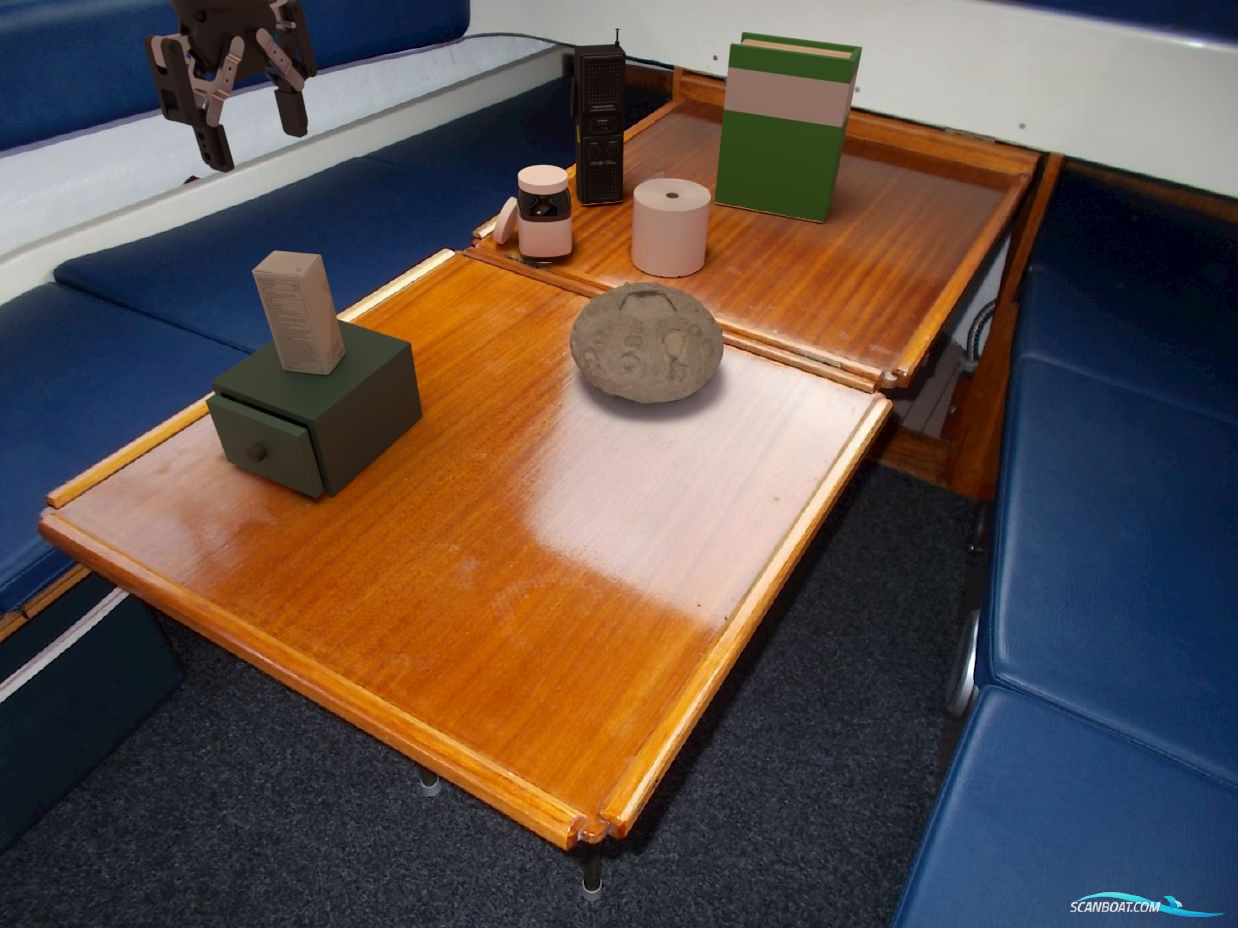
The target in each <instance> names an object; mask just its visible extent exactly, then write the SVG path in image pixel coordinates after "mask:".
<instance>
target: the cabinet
mask: <svg viewBox="0 0 1238 928" xmlns="http://www.w3.org/2000/svg"><path fill="white" fill-rule="evenodd" d="M337 320H338V324H339V328H340V332H341V336H342V340H343V344H344V347H345V352H346V353H345V354H344V356H343V357H342V358H341V360H340V361H339V363H338V364H337V365H336V367H335V368H334V369H333V370H332V372H331V373H330V374H329V375H323V374H311V373H303V372H293V371H286V370H283V368H282V365H281V362H280V359H279V355H278V352H277V349H276V345H275V342H274V339H272V340H270V341H269V342H268V343H266V344H265V345H263V346H262V347H260V348H259V349H257V350H256V351H254V352H253V353H251V354H250V355H248V356H247V357H245V358H244V359H242V360H241V361H239V362H238V363H237V364H234V366H232V367H231V368H229V369H228V370H226V371H225V372H223V373H222V374H220V375H218V377H216V378H215V379H213V380H212V381H210V384H211V386H212V389H213V392H214V394H216V395H218V396H221V397H223V398H226V399H229V400H231V401H234V402H236V400H235V397H236V398H238V399H241V400H244V401H246V402H249V403H251V404H254V405H257V406H259V407H262V408H265V409H267V410H270V411H273V412H275V413H278V414H280V415H283V416H286V417H288V418H291V419H294V420H296V421H299V422H301V423H304V424H307V425H308V427H309V430H310V434H311V437H312V441H313V445H314V448H315V452H316V456H317V459H318V463H319V466H320V470H321V474H322V475H320V478H321V481H322V485H323V489H324V492H323V493H324V494H326V495H329V496H331V497H333V498H334V497H336V496H337V495H339V493H340V492H341V491H342V490H343V489H345V488H346V487H348V485H349V484H351V482H353V480H355V479H356V478H357V477H358V476H359V475H360V474H361V473H362V472H363V471H364V470H366V469H367V468H368V467H369V466H370V465H371V464H372V463H373V462H374V461H375V460H376V459H378V458H379V457H380V456H381V455H382V454H383V453H384V452H386V450H388V449H389V448H390V447H391V446H392V445H393V444H394V443H395V442H396V441H398V439H400V438H401V437H402V436H403V435H404V434H405V433H406V432H408V430H410V429H411V427H413V426H414V425H415V424H416V423H417V422H418V421H420V420H421V418H423V416H424V415H423V409H422V404H421V397H420V390H419V385H418V384H419V383H418V377H417V372H416V367H415V366H416V365H415V359H414V353H413V348H412V347H413V346H412V343H411V341H408V340H404V339H401V338H399V337H395V336H392V335H388V334H386V333H383V332H380V331H376V330H374V329H371V328H368V327H364V326H360V325H358V324H354V323H352V322H348V321H346V320H342V319H339V318H337ZM323 493H322V494H323Z"/></svg>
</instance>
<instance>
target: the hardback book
mask: <svg viewBox="0 0 1238 928" xmlns="http://www.w3.org/2000/svg"><path fill="white" fill-rule="evenodd" d="M862 51H863V46H858V45H850V44H842V43H834V42H828V41H827V42H826V41H818V40H810V39H803V38H796V37H795V38H794V37H787V36H780V35H772V34H763V33H756V32H750V31H749V32H747V31H742V32H741V39H740V43H733V42H731V44H730V46H729V55H728V62H727V64H728V65H727V74H726V82H725V83H726V84H725V95H724V103H723V113H722V114H723V115H722V123H721V132H720V142H719V143H720V144H719V152H718V162H717V173H716V180H715V181H716V182H715V191H714V192H715V193H714V202H718V203H723V204H727V205H732V206H741V207H745V208H750V209H754V210H758V211H768V212H772V213H777V214H782V215H786V216H791V217H800V218H805V219H810V220H817V221H821V222H823V221H824V219H825V220H826V218H827V216H828V214H829V212H830V210H829V208H830V209H831V207H832V205H831V204H833V200H834V194H835V189H836V184H837V179H838V174H839V169H840V163H841V158H842V153H843V148H844V143H845V139H846V134H847V128H848V124H849V118H850V112H851V108H852V103H853V97H854V92H855V87H856V82H857V77H858V72H859V68H860V62H861V56H862ZM714 202H713V203H714ZM830 206H831V207H830ZM828 211H829V212H828ZM827 213H828V214H827ZM826 215H827V216H826ZM825 217H826V218H825ZM824 222H825V221H824Z"/></svg>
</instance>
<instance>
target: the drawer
mask: <svg viewBox="0 0 1238 928" xmlns="http://www.w3.org/2000/svg"><path fill="white" fill-rule="evenodd" d="M235 400H236V402H234V401H231V400H229V399H226V398H223V397H221V396H218V395H216V394H215V393H214V394H213V395H211V396H209V397H208V398H207V399H205V404H206V407H207V409H208V412H209V414H210V417H211V420H212V423H213V426H214V428H215V431H216V434H217V436H218V439H219V442H220V445H221V447H222V450H223V453H224V455H225V459H226V461H227V463H229V464H232V465H235V466H237V467H239V468H242V469H244V470H246V471H249V472H251V473H254V474H256V475H259V476H260V477H264V478H266V479H268V480H271V481H273V482H275V483H278V484H280V485H283V486H285V487H287V488H290V489H292V490H295V491H297V492H299V493H302V494H305V495H307V496H309V497H312V498H314V499H317V498H318V497H319V496H321V494H323V492H324V489H323V485H322V481H321V478H320V475H322V474H321V470H320V466H319V463H318V459H317V456H316V452H315V448H314V445H313V441H312V437H311V434H310V430H309V427H308V425H307V424H304V423H301V422H299V421H296V420H294V419H291V418H288V417H286V416H283V415H280V414H278V413H275V412H273V411H270V410H267V409H265V408H262V407H259V406H257V405H254V404H251V403H249V402H246V401H244V400H241V399H238V398H236V397H235Z"/></svg>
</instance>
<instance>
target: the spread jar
mask: <svg viewBox="0 0 1238 928" xmlns="http://www.w3.org/2000/svg"><path fill="white" fill-rule="evenodd" d="M517 180H518V181H517V182H518V189H517V191H516V197H514V196H511V197H509V198H508V200H507V201H506V202H505V204H504V205H503V207H502V208H501V211H500V212H499V215H498V217H497V219H496V221H495V225H494V228H493V233H492V240H493V242H496V243H498V244H500V245H502V244H503V245H505V244H504V242H505V241H506V240H507V239H508V238H509V239H510V238H511V236H512V234H513V232H514V231H515V229H516V226H517V238H518V248H519V252H520V255H521V256H522V257H523V259H525V260H526V261H529V262H532V261H533V262H532V263H535V262H555V263H557V262H556V261H559V262H561V261H560V260H562V261H563V259H564V260H565V259H567V258H569V257H570V256H571V254H572V251H573V250H572V249H573V224H572V223H573V218H572V217H573V207H572V198H571V192H570V189H569V187H568V186H569V174H568V171H566V170H564V169H563V168H562V167H559V166H555V165H551V164H550V165H549V164H538V165H531V166H528V167H525V168H523V169H521V170H520V171H519V172H518V174H517ZM510 235H511V236H510ZM509 239H508V240H509ZM508 240H507V241H508Z"/></svg>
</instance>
